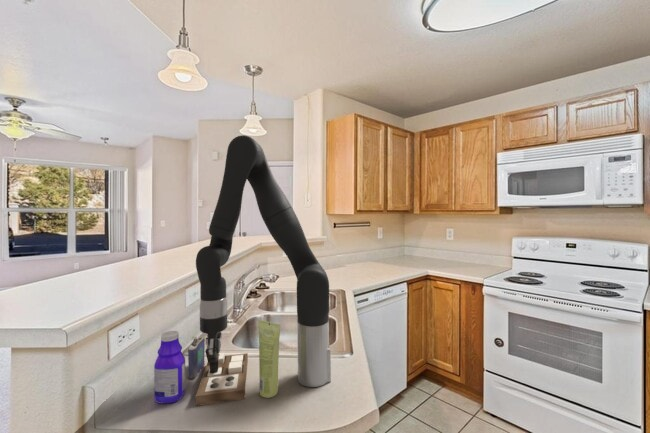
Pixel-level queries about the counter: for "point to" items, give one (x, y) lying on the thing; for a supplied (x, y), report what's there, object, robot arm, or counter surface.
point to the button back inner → (237, 358)
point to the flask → (196, 357)
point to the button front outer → (215, 373)
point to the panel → (222, 384)
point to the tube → (268, 357)
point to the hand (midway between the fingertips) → (214, 371)
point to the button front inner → (235, 367)
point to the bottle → (169, 369)
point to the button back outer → (221, 358)
